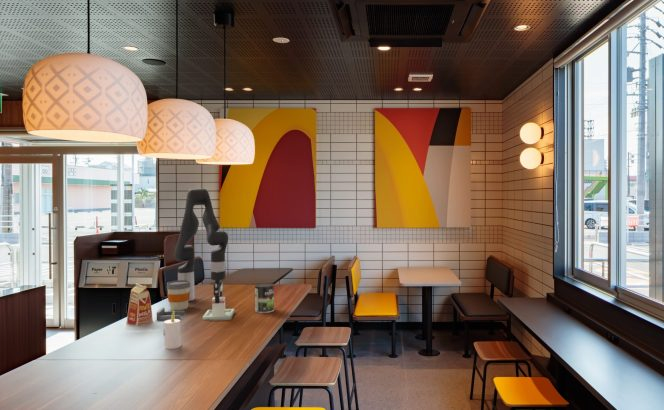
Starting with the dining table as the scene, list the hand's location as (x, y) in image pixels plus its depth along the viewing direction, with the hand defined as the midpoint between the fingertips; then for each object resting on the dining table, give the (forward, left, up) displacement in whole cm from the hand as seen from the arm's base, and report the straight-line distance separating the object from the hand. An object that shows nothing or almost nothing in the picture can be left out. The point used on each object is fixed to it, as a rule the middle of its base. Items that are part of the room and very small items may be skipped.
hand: (218, 301), depth 222 cm
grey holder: (0, -24, -8) cm, 25 cm away
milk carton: (+7, -37, -8) cm, 39 cm away
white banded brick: (0, 0, -7) cm, 7 cm away
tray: (0, 0, -8) cm, 8 cm away
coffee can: (-8, +23, -8) cm, 26 cm away
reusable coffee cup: (-19, -25, -8) cm, 32 cm away
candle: (+43, -12, -8) cm, 46 cm away
